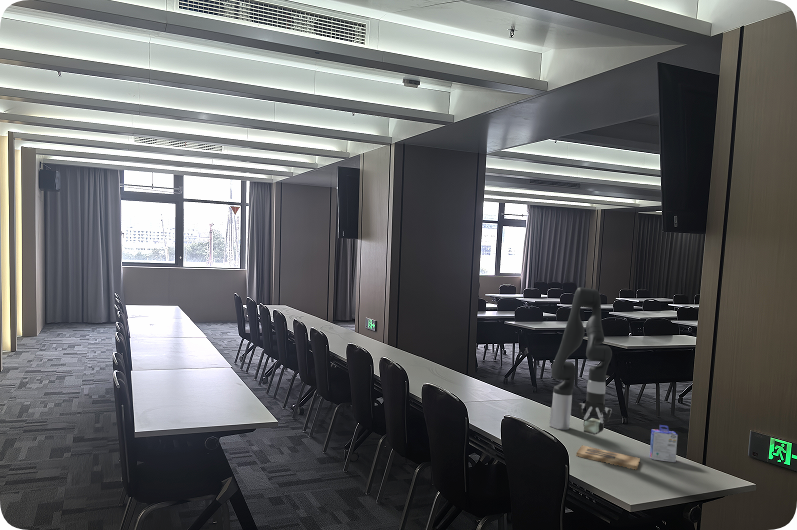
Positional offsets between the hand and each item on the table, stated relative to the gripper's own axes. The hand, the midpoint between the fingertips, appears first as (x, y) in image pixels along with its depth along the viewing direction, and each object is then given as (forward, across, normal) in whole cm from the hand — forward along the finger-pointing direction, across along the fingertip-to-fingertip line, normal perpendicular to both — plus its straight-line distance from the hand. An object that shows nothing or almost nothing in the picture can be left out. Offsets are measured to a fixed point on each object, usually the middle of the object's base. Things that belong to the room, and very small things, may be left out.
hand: (593, 429), depth 239 cm
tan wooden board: (+11, -7, 0) cm, 13 cm away
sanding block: (+1, 0, 0) cm, 1 cm away
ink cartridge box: (+11, -27, -17) cm, 34 cm away
